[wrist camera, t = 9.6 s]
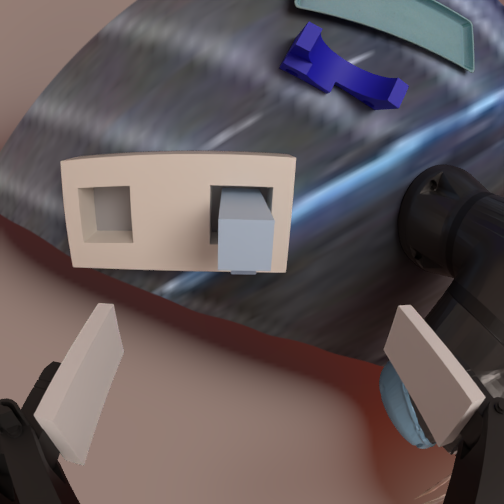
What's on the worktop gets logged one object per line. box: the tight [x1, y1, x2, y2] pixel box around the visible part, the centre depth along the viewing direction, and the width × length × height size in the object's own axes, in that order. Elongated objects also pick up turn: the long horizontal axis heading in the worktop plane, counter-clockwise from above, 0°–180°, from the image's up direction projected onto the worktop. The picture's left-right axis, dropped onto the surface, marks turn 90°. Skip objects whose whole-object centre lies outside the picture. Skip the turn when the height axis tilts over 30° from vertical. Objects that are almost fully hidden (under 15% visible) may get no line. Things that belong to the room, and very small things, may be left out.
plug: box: [218, 188, 275, 274], centre depth 28 cm, size 4×5×12 cm
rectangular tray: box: [294, 0, 474, 73], centre depth 25 cm, size 26×9×2 cm, turn 84°
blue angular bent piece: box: [279, 22, 409, 110], centre depth 27 cm, size 12×4×6 cm, turn 64°
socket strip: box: [61, 151, 296, 272], centre depth 32 cm, size 24×12×5 cm, turn 87°
